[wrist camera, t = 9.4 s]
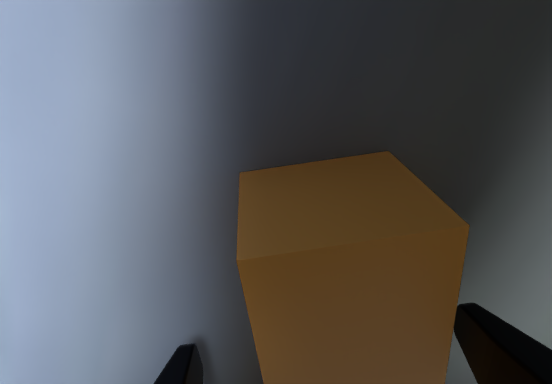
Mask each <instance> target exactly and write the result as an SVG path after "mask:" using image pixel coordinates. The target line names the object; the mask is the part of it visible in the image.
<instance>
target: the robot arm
mask: <svg viewBox="0 0 552 384" xmlns="http://www.w3.org/2000/svg"><path fill="white" fill-rule="evenodd" d="M454 333H455V336H456V338H457V340H458V342H459V344H460V346H461V349H462V351H463V353H464V355H465V357H466V359H467V361H468V364H469V366H470V368H471V370H472V372H473V374H474V377H475V379H476V381H477V383H478V384H552V350H551V349H549V348H548V347H546V346H545V345H543V344H541V343H540V342H538V341H536V340H535V339H533V338H531V337H530V336H528V335H527V334H525V333H523V332H522V331H520V330H518V329H517V328H515V327H514V326H512V325H510V324H509V323H507V322H505V321H504V320H502V319H500V318H499V317H497V316H496V315H494V314H492V313H491V312H489V311H487V310H486V309H484V308H482V307H481V306H479V305H478V304H475V303H465V304H460V305H458V306H457V309H456V315H455V322H454ZM154 384H203V365H202V361H201V358H200V355H199V352H198V349H197V346H196V345H195V344H194V343H191V344H185V345H180V346H179V347H178V348H177V349H176V351H175V352H174V354H173V355H172V357H171V358H170V360H169V361H168V363H167V364H166V366H165V367H164V369H163V370H162V372H161V373H160V375H159V376H158V378H157V379H156V381H155V382H154Z"/></svg>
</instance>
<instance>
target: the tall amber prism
mask: <svg viewBox="0 0 552 384" xmlns="http://www.w3.org/2000/svg"><path fill="white" fill-rule="evenodd" d="M469 227H470V225H469V224H467V223H466V222H465V221H464V220H463V219H462V218H461V217H460V216H459V215H458V214H457V213H455V212H454V211H453V210H452V209H451V208H450V207H449V206H448V205H447V204H446V203H445V202H444V201H442V200H441V199H440V198H439V197H438V196H437V195H436V194H435V193H434V192H433V191H432V190H430V189H429V188H428V187H427V186H426V185H425V184H424V183H423V182H422V181H421V180H420V179H418V178H417V177H416V176H415V175H414V174H413V173H412V172H411V171H410V170H409V169H408V168H407V167H405V166H404V165H403V164H402V163H401V162H400V161H399V160H398V159H397V158H396V157H395V156H393V155H392V154H391V153H390V152H389V151H384V152H377V153H370V154H363V155H357V156H350V157H343V158H336V159H329V160H322V161H315V162H308V163H302V164H295V165H288V166H281V167H274V168H267V169H260V170H253V171H247V172H240V176H239V203H238V230H237V257H236V261H237V266H238V270H239V275H240V279H241V284H242V288H243V293H244V297H245V302H246V306H247V311H248V315H249V320H250V324H251V329H252V333H253V338H254V342H255V347H256V351H257V356H258V360H259V365H260V369H261V374H262V378H263V383H264V384H445V379H446V372H447V366H448V360H449V353H450V347H451V341H452V334H453V328H454V322H455V315H456V309H457V303H458V296H459V290H460V284H461V277H462V271H463V265H464V258H465V252H466V246H467V239H468V233H469Z"/></svg>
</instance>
